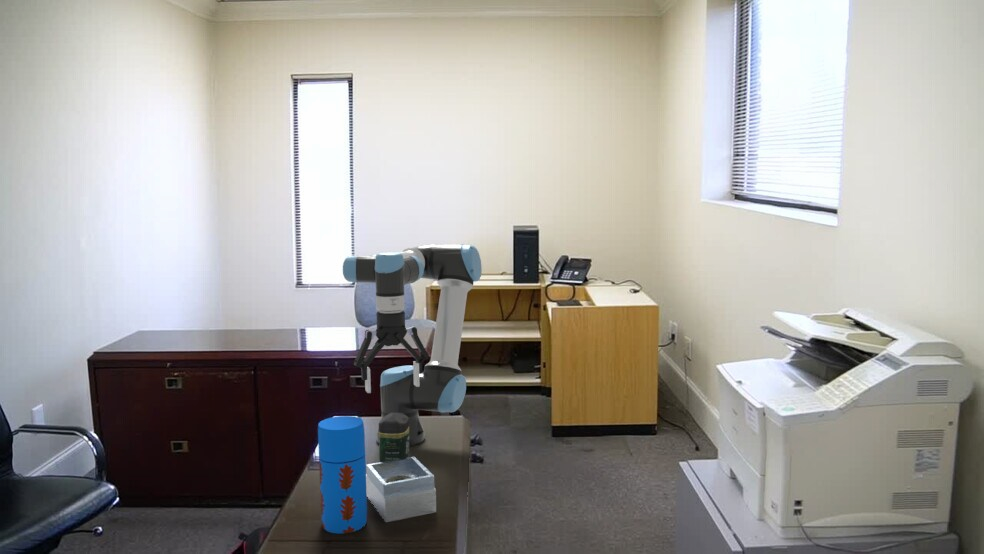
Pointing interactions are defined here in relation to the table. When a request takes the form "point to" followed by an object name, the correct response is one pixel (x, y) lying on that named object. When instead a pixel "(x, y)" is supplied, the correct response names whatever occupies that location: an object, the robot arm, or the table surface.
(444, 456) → the table surface
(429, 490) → the open grey metal box
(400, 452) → the coffee jar
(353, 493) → the thermos
